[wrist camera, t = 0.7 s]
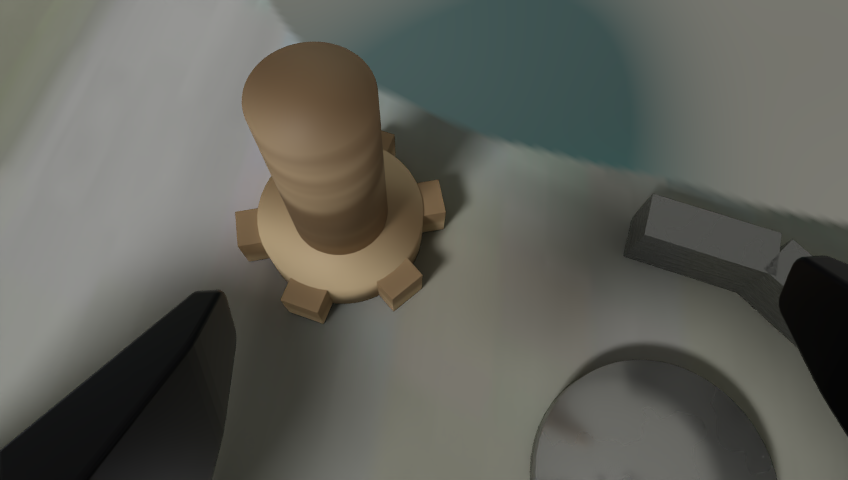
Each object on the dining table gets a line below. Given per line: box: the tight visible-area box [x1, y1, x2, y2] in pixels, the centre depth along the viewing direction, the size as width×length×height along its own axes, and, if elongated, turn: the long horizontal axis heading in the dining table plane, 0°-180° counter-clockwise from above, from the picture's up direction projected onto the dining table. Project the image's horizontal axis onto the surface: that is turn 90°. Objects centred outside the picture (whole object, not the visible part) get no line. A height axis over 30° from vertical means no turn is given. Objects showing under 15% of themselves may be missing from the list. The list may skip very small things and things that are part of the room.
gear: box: [235, 42, 446, 324], centre depth 22 cm, size 9×8×10 cm
